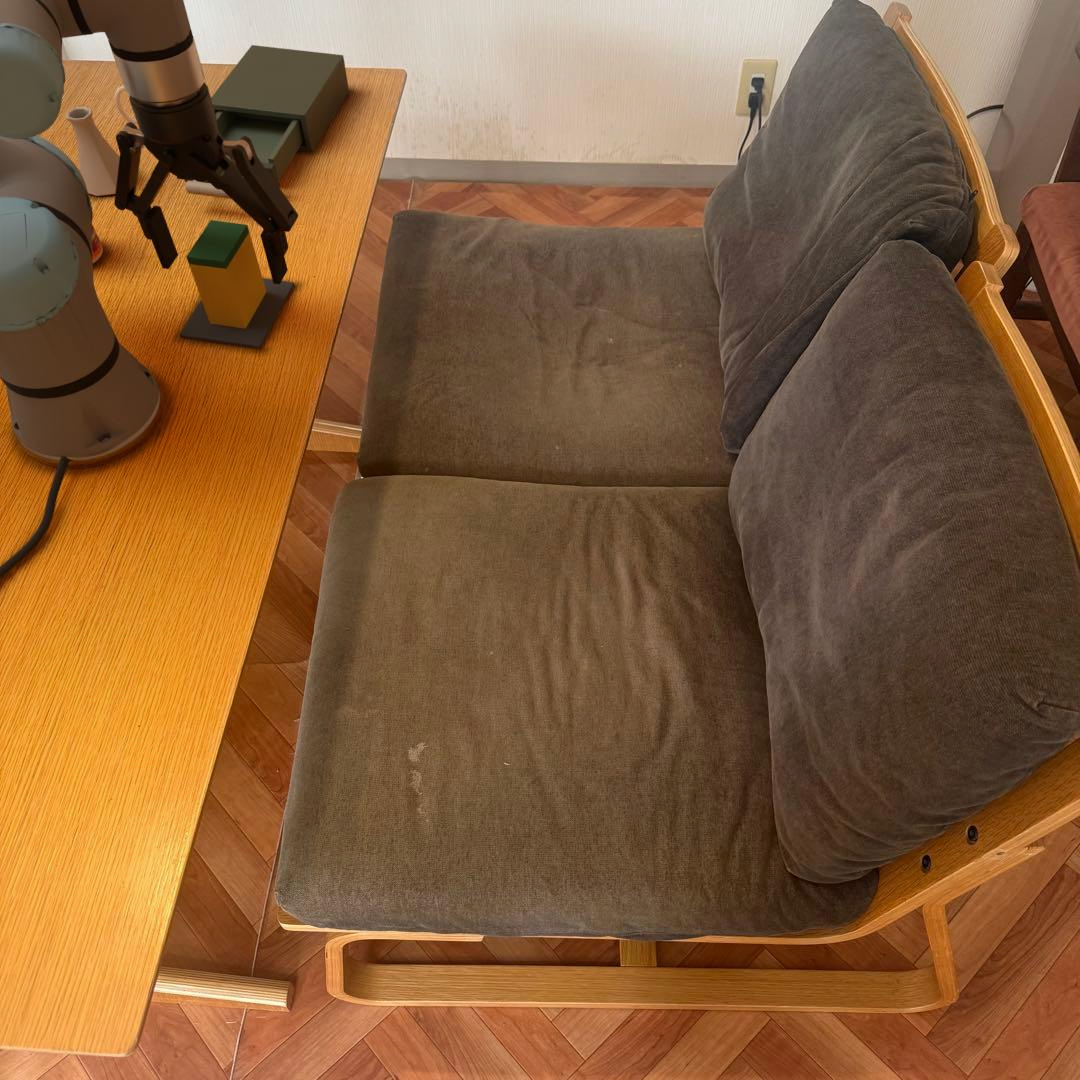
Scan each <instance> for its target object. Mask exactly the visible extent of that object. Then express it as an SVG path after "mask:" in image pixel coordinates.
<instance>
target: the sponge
mask: <svg viewBox="0 0 1080 1080" xmlns="http://www.w3.org/2000/svg"><path fill="white" fill-rule="evenodd" d="M186 261H187V263H188V266H189V269H190V272H191V274H192V277H193V280H194V282H195V285H196V289H197V291H198V293H199V297H200V300H201V299H202V302H203V305H204V308H205V310H206V313H207V316H208V319H209V322H210V324H216V325H223V326H230V327H237V328H244V329H246V327H247V325H248V324H249V322H250V320H251V318H252V317H253V315H254V313H255V311H256V310H257V308H258V306H259V304H260V302H261V301H262V299H263V297H264V295H265V294H266V288H265V285H264V281H263V278H264V277H263V275H262V271H261V267H260V264H259V260H258V256H257V254H256V250H255V247H254V243H253V239H252V235H251V233H250V229H249V225H248V224H245V223H238V222H237V223H236V222H228V221H221V220H216V219H215V220H214V219H211V220H209V222H208V223H207V225H206V226H205V227H204V229H203V231H202V232H201V234H200V235H199V237H198V238H197V239H196V240H195V242H194V244H193V245H192V247H191V249H190V250H189V252H188V253H187V255H186Z"/></svg>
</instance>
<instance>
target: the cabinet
mask: <svg viewBox="0 0 1080 1080" xmlns="http://www.w3.org/2000/svg"><path fill="white" fill-rule="evenodd" d="M349 92H350V90H349V82H348V76H347V70H346V64H345V57H344V55H343V54H337V53H328V52H327V53H326V52H318V51H309V50H300V49H292V48H291V49H290V48H283V47H274V46H273V47H272V46H266V45H265V46H264V45H255V44H251V45H250V47H249V48H248V49H247V50H246V52H245V53H244V55H243V56H242V57H241V58H240V59H239V61H238V62H237V64H236V65H235V66H234V67H233V69H232V70H231V71H230V72H229V73H228V75H227V76H226V78H225V79H224V80H223V82H222V83H221V84H220V86H219V87H218V88H217V89H216V91H215V92H214V93H213V95H212V96H211V100H212V103H213V107H214V111H215V114H216V113H217V112H218V111H219V110H223V111H232V112H240V113H249V114H257V115H265V116H274V117H282V118H291V119H299V120H301V124H302V129H303V134H304V141H303V143H302V144H301V146H300V147H299V149H298V151H299V152H309V153H313V152H314V150H315V149H316V147H317V145H318V144H319V142H320V140H321V139H322V137H323V135H324V133H325V132H326V130H327V128H328V127H329V125H330V124H331V122H332V120H333V119H334V117H335V116H336V115H337V112H338V111H339V109H340V107H341V106H342V104H343V102H344V100H345V99H346V97H347V95H349Z"/></svg>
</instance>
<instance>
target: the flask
mask: <svg viewBox="0 0 1080 1080" xmlns="http://www.w3.org/2000/svg"><path fill="white" fill-rule="evenodd" d="M65 115H66V116H65V117H66V121H68V122H70V124H71V126H72V129H73V131H74V135H75V139H76V144H77V151H78V152H77V155H78V170H79V171H80V173H81V175H82V177H83V179H84V181H85V184H86V187H87V191H88V195H89V194H90V195H93V196H96V197H98V196H108V195H115V193H116V185H117V176H118V168H119V159H120V154H118V153H117V152H116V150H115V149H114V148H113V147H112V146H111V145H110V143H109V142H108V140H106V139H105V138H104V136H103V134H102V133H101V131H100V130H99V128H98V126H97V125H96V123H95V120H94V118H93V109H92V108H90V107H86V106H77V107H72V108H71V109H69V110H68V111H66V114H65Z"/></svg>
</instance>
